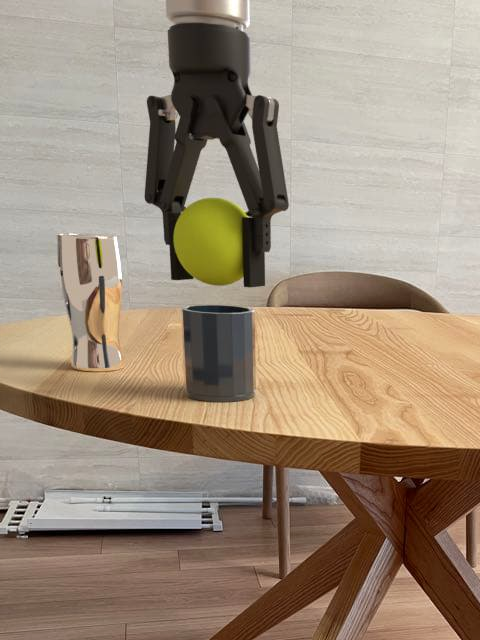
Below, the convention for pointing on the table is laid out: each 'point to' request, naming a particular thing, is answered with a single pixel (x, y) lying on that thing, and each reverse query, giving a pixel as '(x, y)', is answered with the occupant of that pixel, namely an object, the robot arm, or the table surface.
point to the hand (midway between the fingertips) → (217, 282)
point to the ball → (211, 241)
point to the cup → (219, 352)
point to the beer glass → (92, 298)
